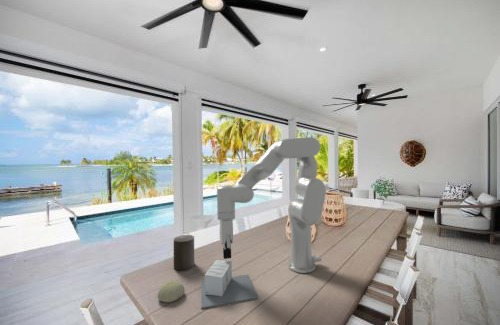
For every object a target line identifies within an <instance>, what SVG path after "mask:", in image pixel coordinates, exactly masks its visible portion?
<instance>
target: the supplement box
mask: <svg viewBox="0 0 500 325" xmlns="http://www.w3.org/2000/svg"><path fill="white" fill-rule="evenodd" d="M232 263H233V262H232V261H231V260H221V259H216V260H215V261H214V262H213V264H212V265H211V266H210V267H209V269H208V270H207V271H206V273H205V274H204V281H205V294H207V295H215V296H223V294H224V292H225V290H226V288H227V287H228V285H229V283H230V281H231V279H232V277H233V274H232V272H233V271H232V269H233V268H232V267H233V265H232Z"/></svg>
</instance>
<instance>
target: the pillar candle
mask: <svg viewBox="0 0 500 325" xmlns="http://www.w3.org/2000/svg"><path fill="white" fill-rule="evenodd" d="M194 267H195V236H194V235H192V234H182V235H177V236H176V237H174V238H173V270H175V271H177V272H184V271H187V270H189V271H190V269H192V268H194Z"/></svg>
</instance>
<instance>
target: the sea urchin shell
mask: <svg viewBox="0 0 500 325" xmlns="http://www.w3.org/2000/svg"><path fill="white" fill-rule="evenodd" d="M184 294H185V285H184V284H183V283H182V282H181V281H179V280H172V281H168V282H165V283H163V285H161V286H160V288H159V290H158V292H157V299H158V300H159V301H161V302H163V303H174V302H175V301H177V300H179V299H180V298H181V297H182V296H183V295H184Z"/></svg>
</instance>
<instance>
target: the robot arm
mask: <svg viewBox="0 0 500 325" xmlns="http://www.w3.org/2000/svg"><path fill="white" fill-rule="evenodd" d="M320 151H321V142H320V141H319V140H318V139H317V138H315V137H312V136H311V137H310V136H309V137H308V136H307V137H297V138H285V139H284V138H283V139H280V140H277V141H275V142H273V143H272V144H271V145H270V147H269V148H268V149H267V150H266V151H265V152H264V154H263V155H262V156H261V157H260V159H259V160H258V161H256V163H255V164H253V166H251V168H249V170H247V171H246V172H245V173H244V174H243V175H242V176H241V178H240V179H239V180H238V181H237V182H236V183H235V184H234V186H232V185H220V186H218V187H217V189H216V203H217V205H216V206H217V207H216V208H217V220H219V242H220V244H221V245H222V246H223V249H222V252H223V254H222V255H223V260H226V259H227V260H228V259H231V258H232V244H233V243H234V222H233V221H234V220H235V219H236V203H239V204H247V203H249V202H251V201H253V199H254V197H255V196H254V195H255V194H254V190H253V188H254V187H255V186H256V185H257V184H258V183H259V182H261V181H263V180H265V179H268V178H269V177H271V176H272V175H273V173H274V172H276V169H277V168H278V167H279V166H280V165H281V164H282V162H283V161H284V160H288V159H297V161H298V172H297V177H296V182H295V187H294V190H295V193H296V194H297V195H298V196H300V197H303V199H302V198H296V199H292V200H291V202H289V204H288V208H287V209H288V210H287V212H288V218H289V225H290V229H289V230H290V260H288V262H287V267H288V268H289V269H290V270H291V271H293V272H296V273H299V274H300V273H301V274H307V273H308V274H309V273H311V272H314V271H315V270H316V264H315V263H316V262H322V257H321V256H316V255H313V252H312V226H315V225H316V224H318V223H319V221H320V219H321V217H322V215H323V208H324V204H325V199H326V194H327V193H326V192H327V191H326V190H327V189H326V186H325V185H326V184H324V181H323V180H321V179H319V178H318V177H317V175H318V162H317V159H316V157H315V156H316V155H318V154H319V152H320Z"/></svg>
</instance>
